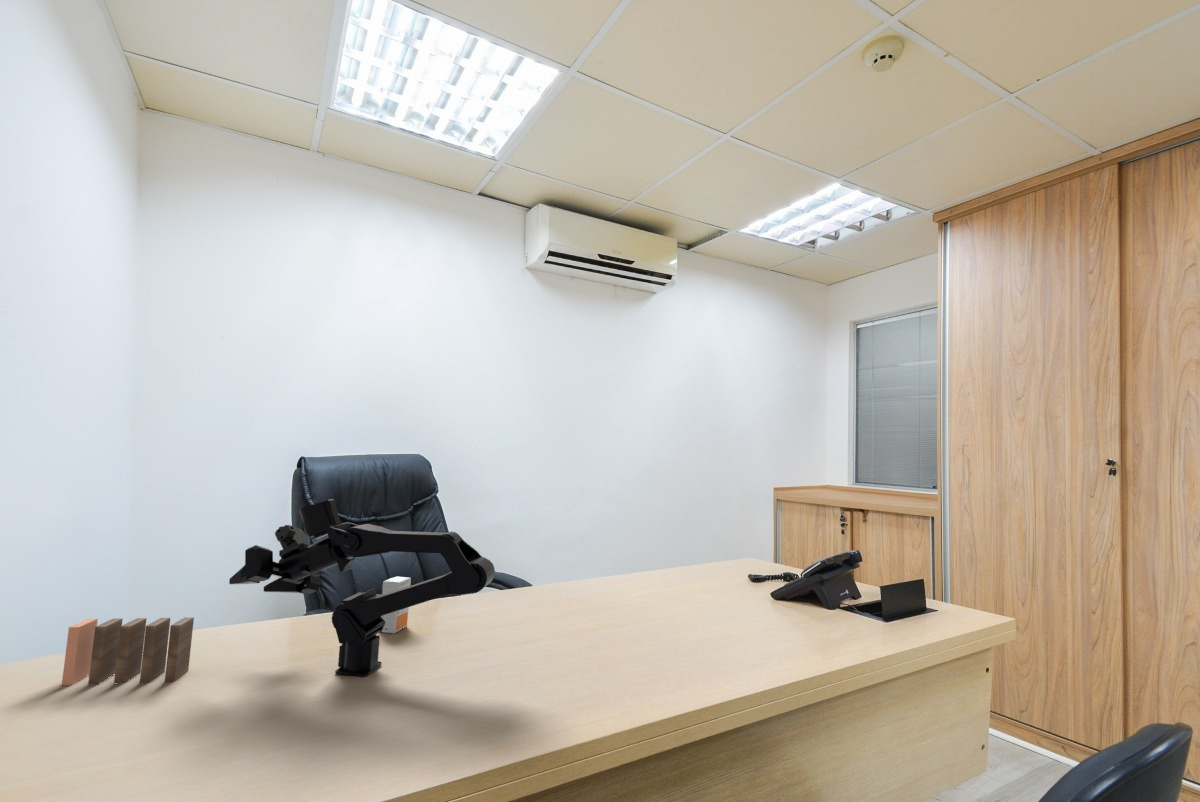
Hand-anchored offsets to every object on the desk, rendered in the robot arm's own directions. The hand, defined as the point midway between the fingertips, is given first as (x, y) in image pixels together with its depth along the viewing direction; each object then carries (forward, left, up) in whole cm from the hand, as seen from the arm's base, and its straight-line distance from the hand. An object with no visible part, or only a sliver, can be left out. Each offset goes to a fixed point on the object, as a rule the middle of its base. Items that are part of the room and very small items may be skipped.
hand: (247, 585), depth 115 cm
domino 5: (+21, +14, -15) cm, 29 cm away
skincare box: (-20, -26, -15) cm, 36 cm away
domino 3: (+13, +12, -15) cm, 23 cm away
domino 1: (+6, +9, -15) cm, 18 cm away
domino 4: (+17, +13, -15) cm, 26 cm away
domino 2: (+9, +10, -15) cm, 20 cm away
